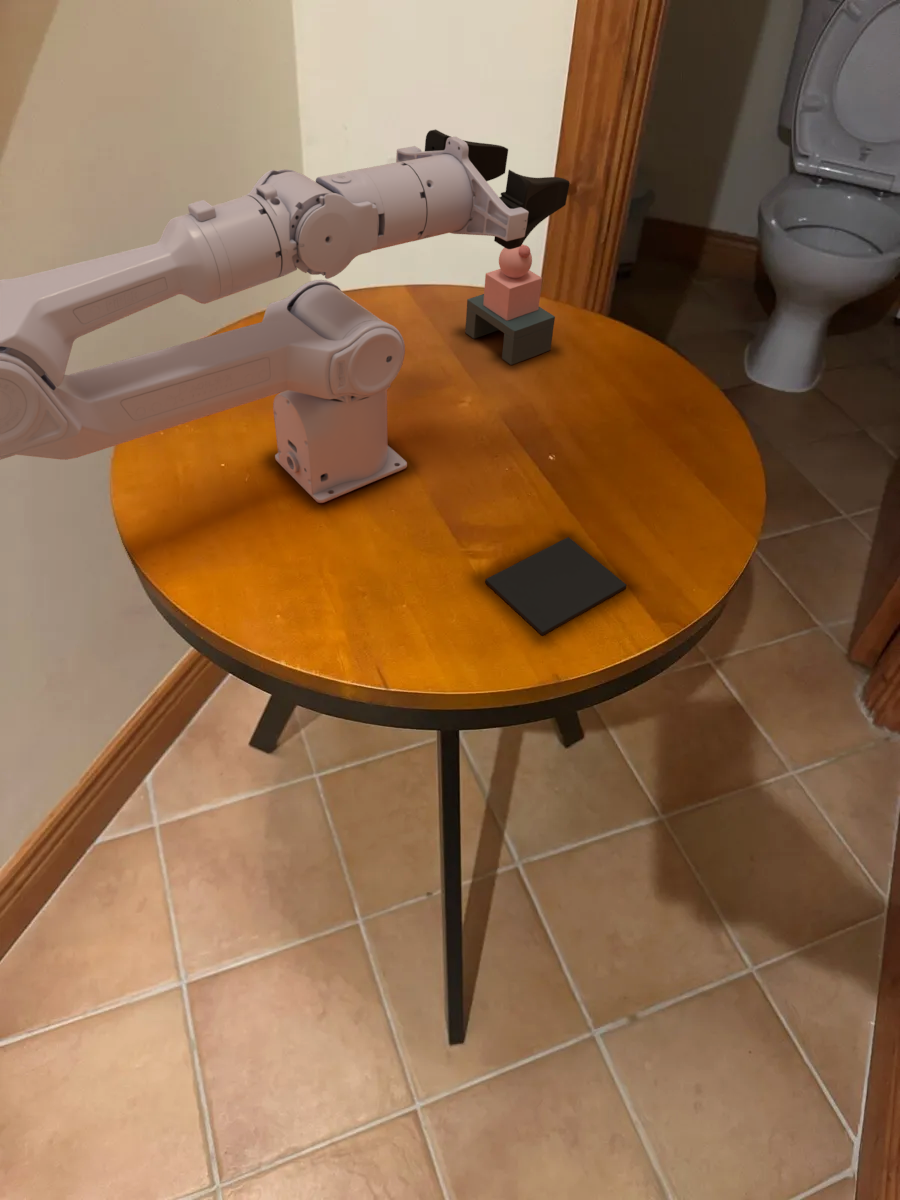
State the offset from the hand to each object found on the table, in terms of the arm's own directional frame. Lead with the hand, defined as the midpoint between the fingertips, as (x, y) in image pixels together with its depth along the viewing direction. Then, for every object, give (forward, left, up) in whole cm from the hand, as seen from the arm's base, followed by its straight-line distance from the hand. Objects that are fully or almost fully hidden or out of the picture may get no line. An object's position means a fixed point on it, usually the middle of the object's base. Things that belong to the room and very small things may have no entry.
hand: (533, 175), depth 77 cm
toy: (+6, +8, -17) cm, 20 cm away
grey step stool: (+6, +8, -21) cm, 24 cm away
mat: (-15, -24, -21) cm, 35 cm away
